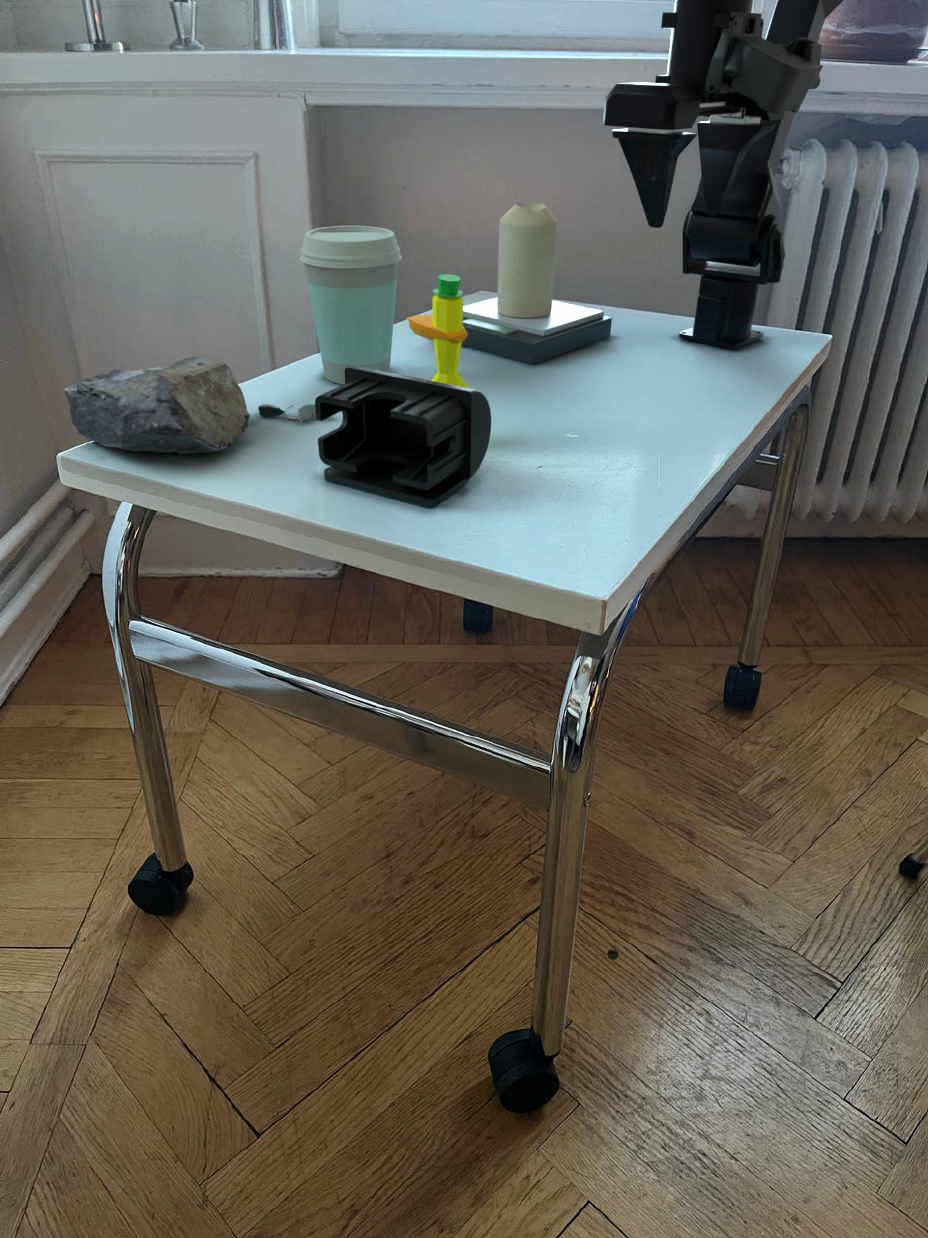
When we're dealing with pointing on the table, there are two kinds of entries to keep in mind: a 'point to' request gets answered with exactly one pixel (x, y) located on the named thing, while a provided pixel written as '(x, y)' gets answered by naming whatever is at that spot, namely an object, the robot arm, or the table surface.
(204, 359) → the rock
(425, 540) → the table surface
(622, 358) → the table surface
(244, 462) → the table surface
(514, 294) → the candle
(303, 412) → the toy
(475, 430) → the end cap
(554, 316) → the scale
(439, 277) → the toy figure
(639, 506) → the table surface
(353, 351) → the coffee cup
